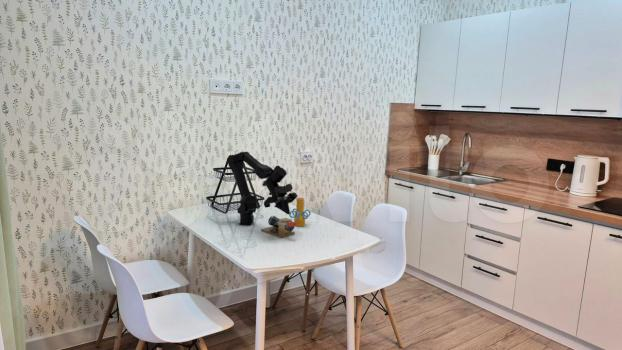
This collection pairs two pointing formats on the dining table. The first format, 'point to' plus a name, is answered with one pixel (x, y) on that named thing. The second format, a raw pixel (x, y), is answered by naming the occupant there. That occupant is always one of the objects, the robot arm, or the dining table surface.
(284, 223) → the lever
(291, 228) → the valve
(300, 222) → the orange post with rings
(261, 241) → the dining table surface
